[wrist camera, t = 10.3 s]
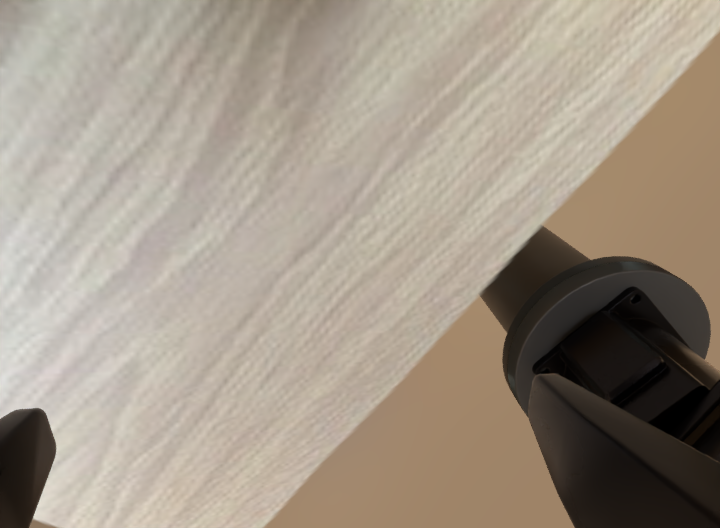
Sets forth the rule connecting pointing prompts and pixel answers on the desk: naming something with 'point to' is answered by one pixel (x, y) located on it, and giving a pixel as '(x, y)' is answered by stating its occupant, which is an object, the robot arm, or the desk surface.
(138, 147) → the desk surface
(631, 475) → the robot arm
